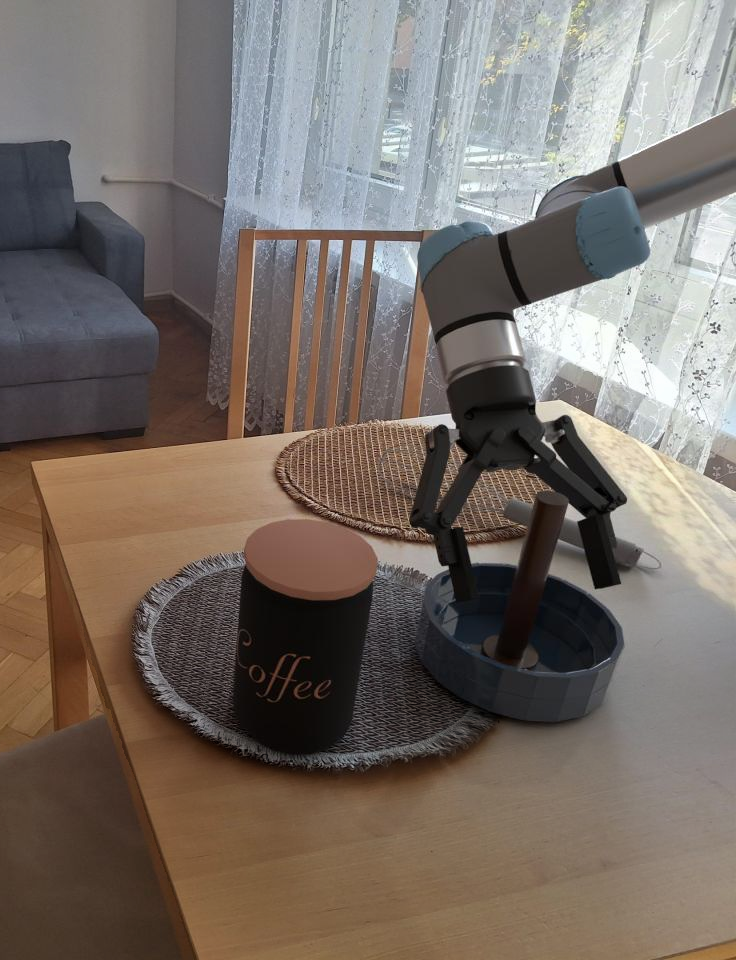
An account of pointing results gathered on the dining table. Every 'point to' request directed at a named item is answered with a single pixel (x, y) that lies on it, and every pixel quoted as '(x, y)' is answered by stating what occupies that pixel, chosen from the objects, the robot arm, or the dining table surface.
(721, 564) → the dining table surface
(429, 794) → the dining table surface
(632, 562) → the kitchen whisk
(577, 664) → the bowl
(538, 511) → the stirring stick
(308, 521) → the coffee jar
